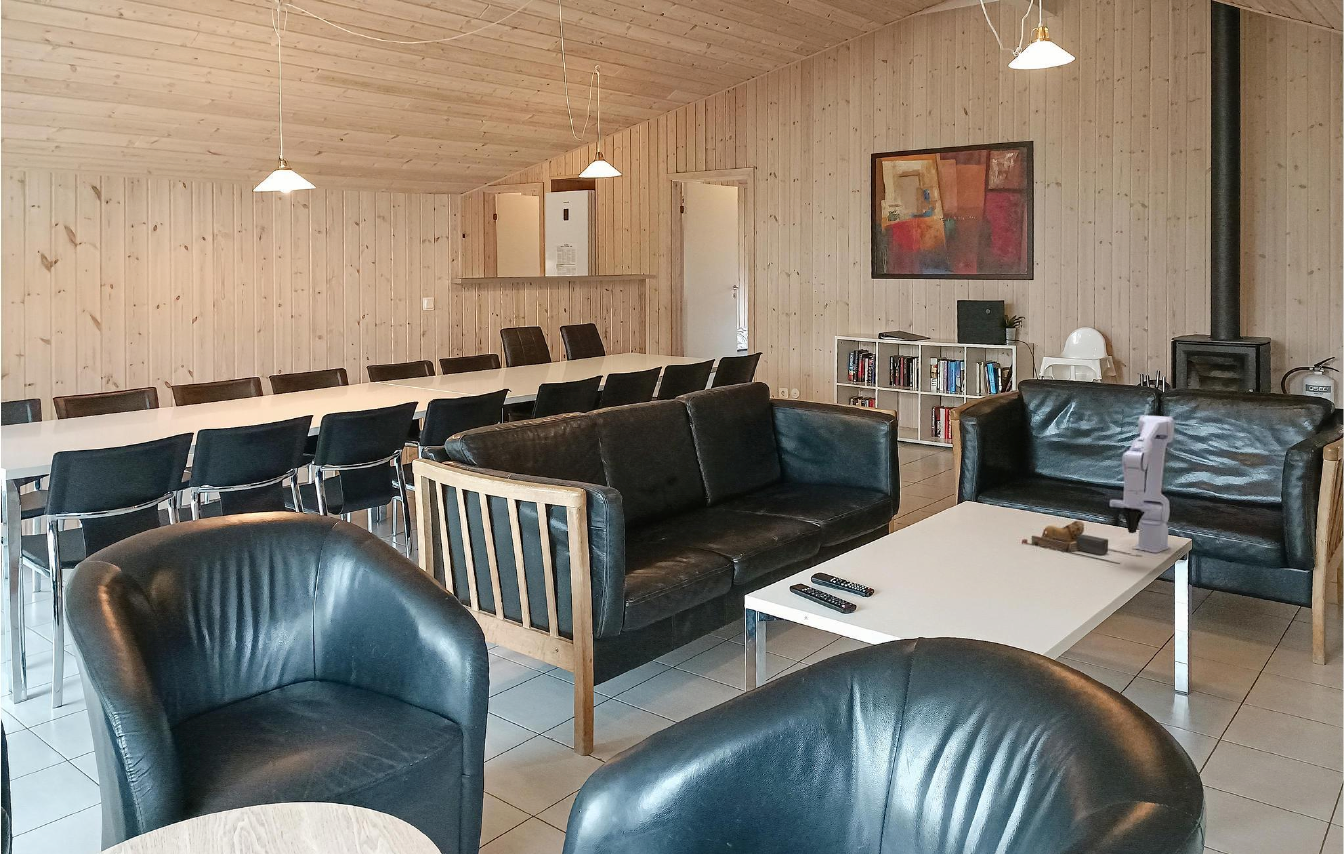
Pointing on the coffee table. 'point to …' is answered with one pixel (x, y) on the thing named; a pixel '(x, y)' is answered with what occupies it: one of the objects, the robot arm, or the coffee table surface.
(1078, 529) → the lion figurine
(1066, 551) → the rail track
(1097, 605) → the coffee table surface
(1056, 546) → the cart
